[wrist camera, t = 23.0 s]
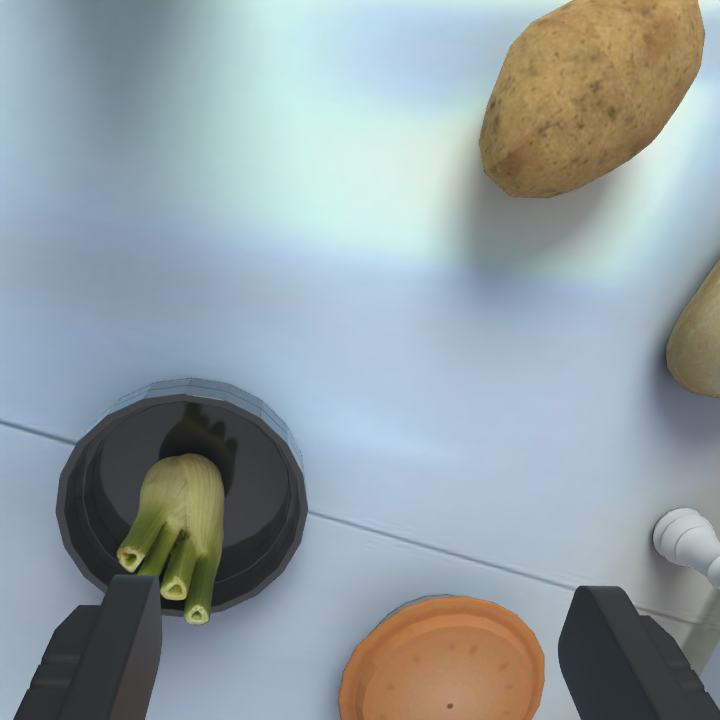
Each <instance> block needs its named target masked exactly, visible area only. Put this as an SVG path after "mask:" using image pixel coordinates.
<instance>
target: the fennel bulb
mask: <svg viewBox="0 0 720 720" xmlns="http://www.w3.org/2000/svg"><path fill="white" fill-rule="evenodd" d="M224 499H225V497H224V486H223V482H222V479H221V474H220V471H219V470H218V468H217V467H216V465H215V464H214V463H213V462H212V461H210V460H209V459H207V458H206V457H204V456H202V455H199V454H193V453H187V454H184V455H181V456H172V457H168V458H164V459H162V460H160V461H158V462H157V463H155V464H154V465H153V466H152V467H151V468H150V469H149V470H148V472H147V474H146V476H145V478H144V481H143V484H142V488H141V492H140V506H139V511H138V515H137V517H136V519H135V521H134V524H133V525H132V527H131V529H130V532H129V534H128V535H127V537H126V538H125V539H124V541H123V542H122V544H121V545H120V547H119V549H118V550H117V552H116V553H117V557H118V561H119V563H120V564H121V565H122V567H124V568H125V569H126V570H127V571H128V572H134V571H135V569H136V568H137V566H138V565H139V564H140V563H141V561H142V560H143V558H144V557H145V560H144V562H143V565H142V566H141V569H140V570H139V571H138V573H137V575H157V576H158V578H159V575H160V574H161V572H162V570H163V567H164V565H165V563H166V561H167V558H168V555H169V553H171V557H170V561H169V563H168V567H167V570H166V571H165V575H164V578H163V582H162V585H161V588H160V593H161V594H162V596H163V597H164V598H166V599H170V600H183V599H185V598H186V601H185V608H184V614H183V617H184V618H185V621H186V622H187V623H189V624H195V625H203V624H204V623H206V622H207V621H209V619H210V612H211V602H212V593H213V584H214V581H215V576H216V573H217V569H218V566H219V562H220V558H221V553H222V545H223V539H224V530H223V517H224V505H225V503H224Z"/></svg>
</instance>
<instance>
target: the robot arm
mask: <svg viewBox="0 0 720 720" xmlns="http://www.w3.org/2000/svg"><path fill="white" fill-rule="evenodd" d="M161 646H162V621H161V604H160V587H159V578H158V576H157V575H114V577H113V578H112V580H111V582H110V584H109V587H108V589H107V592H106V594H105V597H104V599H103V602H102V604H101V606H98V605H79V606H78V607H77V608H76V609H75V610H74V611H73V612H72V613H71V614H70V615H69V616H68V617H67V618H66V619H65V620H64V621H63V622H62V623H61V624H60V625H59V626H58V627H57V628H56V629H55V631H54V633H53V635H52V638H51V640H50V642H49V644H48V646H47V648H46V650H45V653H44V655H43V657H42V661H41V664H40V665H39V666H38V668H37V670H36V672H35V674H34V676H33V678H32V681H31V683H30V688H29V689H27V691H26V693H25V696H24V698H23V700H22V702H21V704H20V706H19V708H18V711H17V713H16V715H15V717H14V719H13V720H145V717H146V713H147V709H148V705H149V701H150V697H151V694H152V690H153V686H154V682H155V678H156V675H157V671H158V666H159V661H160V655H161ZM558 657H559V664H560V668H561V672H562V674H563V677H564V679H565V682H566V684H567V687H568V689H569V691H570V694H571V696H572V699H573V701H574V703H575V706H576V708H577V711H578V713H579V716H580V718H581V720H720V710H719V709H718V707H717V706H716V704H715V702H714V701H713V699H712V698H711V696H710V695H709V693H708V692H705V690H704V685H703V684H702V682H701V681H700V679H699V677H698V676H697V674H696V673H695V671H694V670H691V668H690V663H689V662H688V660H687V659H686V657H685V655H684V654H683V652H682V651H681V649H680V648H679V646H678V644H677V643H676V641H675V640H674V638H673V637H672V636H670V635H669V634H668V633H667V632H666V631H665V630H664V629H663V628H662V627H661V626H660V625H659V624H658V623H656V622H655V621H654V620H653V619H652V618H651V617H650V616H643V615H639V614H638V612H637V610H636V609H635V607H634V605H633V604H632V602H631V600H630V599H629V597H628V595H627V594H626V592H625V591H624V590H623V589H622V588H620V587H618V586H579V587H578V588H577V589H576V591H575V594H574V597H573V600H572V602H571V605H570V608H569V611H568V614H567V617H566V620H565V623H564V626H563V629H562V632H561V635H560V638H559V643H558Z"/></svg>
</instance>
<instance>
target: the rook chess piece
mask: <svg viewBox="0 0 720 720" xmlns="http://www.w3.org/2000/svg"><path fill="white" fill-rule="evenodd" d="M653 541H654V546H655V549H656V550H657V551H658V552H659V554H660V555H661V556H664V557H666V558H667V560H668V561H670V562H672V563H675V564H677V565H679V566H686V567H688V568H694V569H695V570H697V571H699V572H700V573H702V574H703V575H705V576H706V577H707V578H708V580H709V582H710V583H711V584H712V586H714V587H717V588H720V542H719V541H718V540H717V536H716V534H715V533H714V529H713V527H712V526H711V525H710V523H709V522H708V521H707V519H706V518H704V517H702V516H701V515H700V513H699V512H697V511H695V510H693V509H690V508H679V509H675V510H673V511H670V512H667V513H666V514H665V515H664V516H662V517H661V518H660V519H659V521H658V522H657V524H656V526H655V529H654V534H653Z"/></svg>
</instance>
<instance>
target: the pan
mask: <svg viewBox="0 0 720 720" xmlns="http://www.w3.org/2000/svg"><path fill="white" fill-rule="evenodd" d="M187 453H193V454H199V455H202V456H204V457H206V458H207V459H209V460H210V461H212V462H213V463H214V464H215V465H216V467H217V468H218V470H219V471H220V474H221V479H222V482H223V486H224V497H225V499H224V503H225V505H224V517H223V530H224V539H223V545H222V553H221V558H220V562H219V566H218V569H217V573H216V576H215V581H214V584H213V593H212V602H211V612H210V613H215V612H221V611H224V610H227V609H229V608H231V607H233V606H235V605H237V604H239V603H242V602H244V601H246V600H248V599H250V598H252V597H254V596H256V595H258V594H259V593H260V592H261V591H262V590H263V589H264V588H266V587H267V586H268V585H269V584H270V583H271V582H272V581H273V580H275V579H276V578H277V577H278V576H279V575H280V574H281V573H282V572H283V571H284V570H285V568H286V566H287V565H288V563H289V561H290V560H291V558H292V556H293V555H294V553H295V551H296V550H297V548H298V546H299V545H300V542H301V540H302V535H303V530H304V526H305V521H306V517H307V512H308V504H307V495H306V485H305V477H304V470H303V462H302V455H301V452H300V450H299V448H298V446H297V444H296V442H295V440H294V438H293V436H292V434H291V432H290V430H289V428H288V426H287V425H286V423H285V422H284V421H283V420H281V419H280V418H279V417H278V416H277V415H276V414H275V413H274V412H273V411H272V410H271V409H270V408H269V407H268V406H267V405H266V404H265V403H264V402H263V401H262V400H260V399H258V398H256V397H254V396H252V395H251V394H249V393H247V392H245V391H243V390H241V389H239V388H237V387H235V386H233V385H231V384H226V383H220V382H214V381H209V380H203V379H197V378H193V379H192V378H186V379H178V380H170V381H163V382H156V383H153V384H151V385H148V386H146V387H144V388H142V389H140V390H137V391H135V392H133V393H131V394H129V395H126V396H124V397H122V398H120V399H119V400H118V401H117V402H116V403H115V404H114V405H113V406H112V407H111V408H110V409H109V410H107V411H106V412H105V413H104V414H103V415H102V416H101V417H100V418H99V419H98V420H97V421H96V422H95V423H94V424H93V425H92V426H91V427H90V428H89V430H88V431H87V432H86V433H85V434H84V435H83V436H82V438H81V439H80V440H79V441H78V442H77V444H76V446H75V448H74V450H73V451H72V453H71V455H70V457H69V459H68V461H67V463H66V465H65V467H64V469H63V471H62V473H61V474H60V479H59V487H58V496H57V504H56V516H57V520H58V524H59V528H60V532H61V536H62V540H63V544H64V547H65V549H66V550H67V552H68V553H69V555H70V556H71V558H72V559H73V561H74V562H75V564H76V565H77V567H78V568H79V570H80V571H81V573H82V574H83V576H84V577H85V578H86V579H87V580H89V581H90V582H91V583H93V584H94V585H95V586H96V587H98V588H99V589H100V590H101V591H103V592H104V593H105V594H106V592H107V589H108V587H109V584H110V582H111V580H112V578H113V577H114V575H137V573H138V571H139V570H140V569H141V566H142V565H143V562H144V560H145V557H144V558H143V560H142V561H141V563H140V564H139V565H138V566H137V568H136V569H135V571H134V572H128V571H127V570H126V569H125V568H124V567H122V565H121V564H120V563H119V561H118V557H117V553H116V552H117V550H118V549H119V547H120V545H121V544H122V542H123V541H124V539H125V538H126V537H127V535H128V534H129V532H130V529H131V527H132V525H133V524H134V521H135V519H136V517H137V515H138V511H139V506H140V492H141V488H142V484H143V481H144V478H145V476H146V474H147V472H148V470H149V469H150V468H151V467H152V466H153V465H154V464H155V463H157V462H158V461H160V460H162V459H164V458H168V457H172V456H181V455H184V454H187ZM170 557H171V553H169V555H168V558H167V561H166V563H165V565H164V567H163V570H162V572H161V574H160V575H159V587H160V588H161V585H162V582H163V578H164V575H165V571H166V570H167V567H168V563H169V561H170ZM185 601H186V598H185V599H183V600H170V599H166V598H164V597H163V596H162V594H161V593H160V604H161V615H168V616H178V617H183V614H184V608H185Z"/></svg>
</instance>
